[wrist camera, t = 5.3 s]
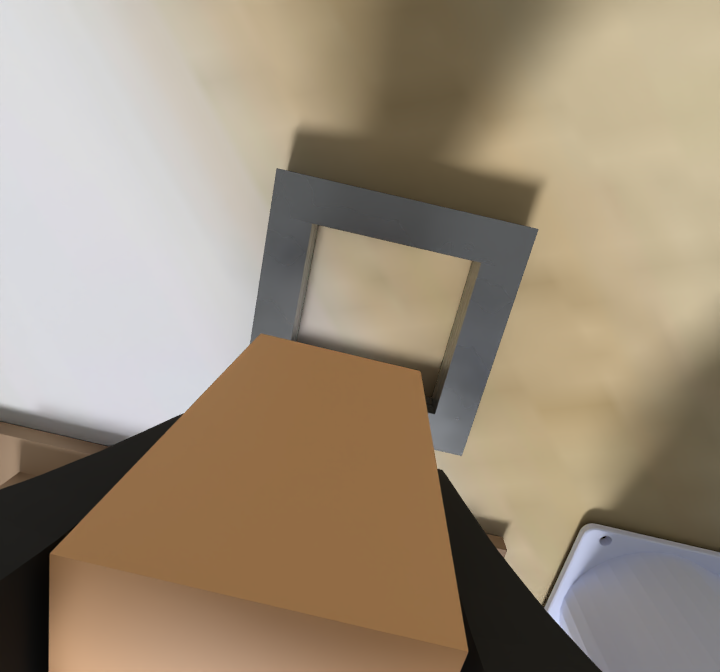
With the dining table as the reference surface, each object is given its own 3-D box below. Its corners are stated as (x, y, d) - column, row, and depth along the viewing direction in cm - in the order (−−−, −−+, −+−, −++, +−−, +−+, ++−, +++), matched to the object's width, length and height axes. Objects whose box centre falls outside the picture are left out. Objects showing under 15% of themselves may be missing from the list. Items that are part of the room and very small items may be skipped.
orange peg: (420, 370, 11) (468, 651, 4) (381, 504, 12) (370, 886, 5) (260, 333, 11) (49, 553, 4) (238, 470, 12) (47, 811, 5)
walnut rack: (502, 537, 20) (519, 588, 18) (433, 711, 24) (438, 775, 21) (-7, 420, 20) (-66, 453, 18) (2, 612, 24) (-47, 664, 21)
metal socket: (525, 226, 16) (538, 229, 15) (456, 436, 19) (461, 456, 18) (286, 170, 16) (276, 168, 15) (252, 389, 19) (240, 404, 18)
